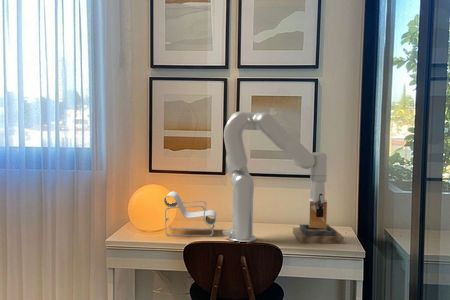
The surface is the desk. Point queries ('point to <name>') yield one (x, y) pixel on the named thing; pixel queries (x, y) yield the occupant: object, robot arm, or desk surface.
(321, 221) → the small box
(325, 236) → the display stand
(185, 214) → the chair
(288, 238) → the desk surface
